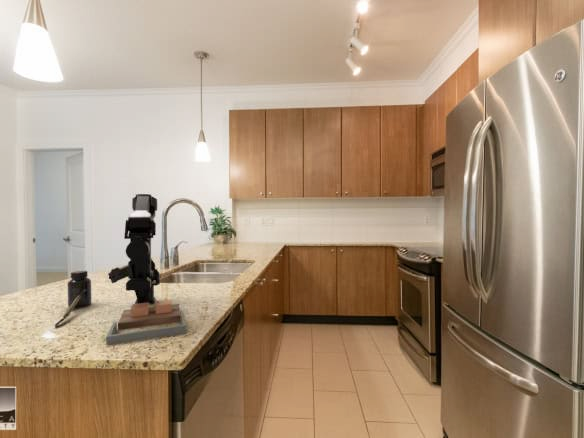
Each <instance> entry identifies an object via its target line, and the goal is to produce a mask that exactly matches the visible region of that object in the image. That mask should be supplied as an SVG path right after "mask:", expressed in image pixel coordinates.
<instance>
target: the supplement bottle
mask: <svg viewBox="0 0 584 438" xmlns="http://www.w3.org/2000/svg"><path fill="white" fill-rule="evenodd" d="M88 276H89V275H88V270H78V271H77V270H76V271H72V272H71V273H70V280H68V282H67V306H68V305H69V303H70V302H71V301H72V300H73V299H74V298H75V297H76V296H78V295H79V294H80V293H81V292H83V290H84V289H86V292H84V293H83V294H82V295H81V297H80V299H79V300H78V302H77V304H76V305H75V307H74V308H73V309H77V308H83V307H84V308H85V307H87V306H88V307H89V306H90V305H92V302H93V301H92V280H91V279H90V278H88ZM72 303H73V302H72ZM72 303H71V304H72ZM71 304H70V305H69V306H68V308H69V307H70V306H71Z"/></svg>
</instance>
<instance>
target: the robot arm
mask: <svg viewBox="0 0 584 438" xmlns="http://www.w3.org/2000/svg"><path fill="white" fill-rule="evenodd" d="M131 200H132V203H131V206H132V207H131V208H132V210H133V212H131V213H130V214H128V219H126V220H125V227H124V235H123V236H124V240H129V243H128V244H127V246H126V248H125V255H126V257H128V259H130V260H129V261H128V262H127V264H126V265H124V266H121V267H118V266H117V267H115V268H112V269H111V271H109V272H108V273H107V275H108V279H109V280H110V281H111V282H110V283H112V284H115V283H117V282H118V281H120V280H124V279H126V278H127V279H128V280H127V281H126V283H125V291H127V292H128V291H130V292H131V291H134V293H135V297H136V299H135V302H134V304H139V303H148V302H149V305H150V304H156V297H155V286H159V285H160V283H161V282H160V281H161V280H160V279H161V278H160V272H159V271H158V268H156V263H155V261H154V260H153V258H152V239H154V236H156V234H157V233H156V231H157V229H156V226H157V224H156V222H155V217H156V213H157V212H156V211H158V199H157V198H156V197H154V196H152V194H150V193H136V194H135V196H134V197H132V199H131Z"/></svg>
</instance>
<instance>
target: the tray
mask: <svg viewBox="0 0 584 438" xmlns="http://www.w3.org/2000/svg"><path fill="white" fill-rule="evenodd" d="M180 323H181V324H179V325H172V326H166V327H160V328H159V327H157V328H152V329H151V328H150V329H145V330H138V331H131V332H125V333H124V332H122V333H117V331H118V322H116V321H115V322H113V323H112V324H111V326H110V328H109V330H108V332H107V334H106V336H105V344H106V346H107V345H108V346H110V345H116V344H122V343H123V344H124V343H128V342H133V341H134V342H135V341H142V340H150V339H156V338H162V337H169V336H177V335H183V334H186V333H187V324H186V318H185V313H180Z"/></svg>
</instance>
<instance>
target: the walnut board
mask: <svg viewBox="0 0 584 438" xmlns="http://www.w3.org/2000/svg"><path fill="white" fill-rule="evenodd" d="M180 309H181V308H180V303H176V304H172V312H168V313H160V314H156V306H149V313H148V315H144V316H136V317H131V309H123V310H122V311H123V312H122V313H121V316H120V318H119V320H118V322H117V331H120V330H126V329H127V330H128V329H136V328H142V327H150V326H158V325H159V326H160V325H166V324H172V323H173V324H174V323H181V311H180Z"/></svg>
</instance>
